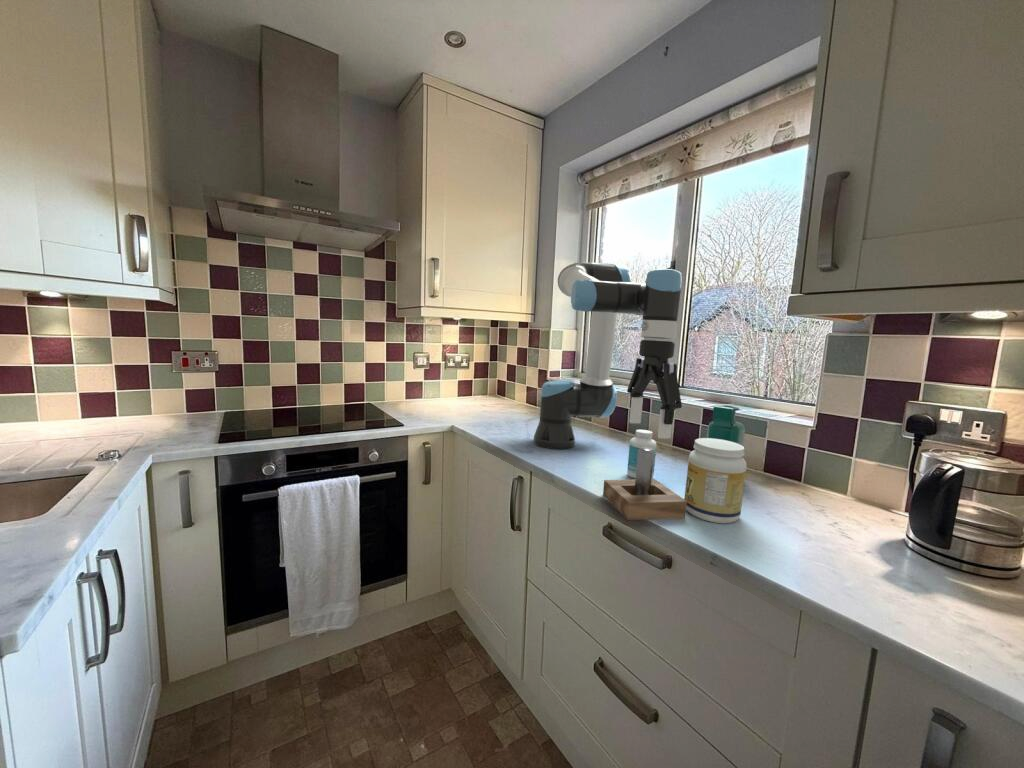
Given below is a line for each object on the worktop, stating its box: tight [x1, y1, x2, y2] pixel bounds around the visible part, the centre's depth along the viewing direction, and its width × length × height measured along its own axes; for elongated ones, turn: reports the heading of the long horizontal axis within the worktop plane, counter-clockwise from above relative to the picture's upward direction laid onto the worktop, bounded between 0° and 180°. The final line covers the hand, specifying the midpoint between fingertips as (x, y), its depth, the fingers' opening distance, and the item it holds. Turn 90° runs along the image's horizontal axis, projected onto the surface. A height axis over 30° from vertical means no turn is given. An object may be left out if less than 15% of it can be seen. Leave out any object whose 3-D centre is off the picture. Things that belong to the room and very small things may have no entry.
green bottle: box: [706, 405, 746, 447], centre depth 121 cm, size 10×8×22 cm
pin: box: [634, 447, 655, 495], centre depth 98 cm, size 4×4×14 cm
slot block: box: [602, 478, 687, 521], centre depth 99 cm, size 14×14×4 cm
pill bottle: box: [626, 429, 657, 479], centre depth 120 cm, size 8×7×14 cm
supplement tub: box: [683, 437, 748, 524], centre depth 96 cm, size 12×12×17 cm
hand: (648, 430), depth 97 cm, fingers open, 13 cm apart
